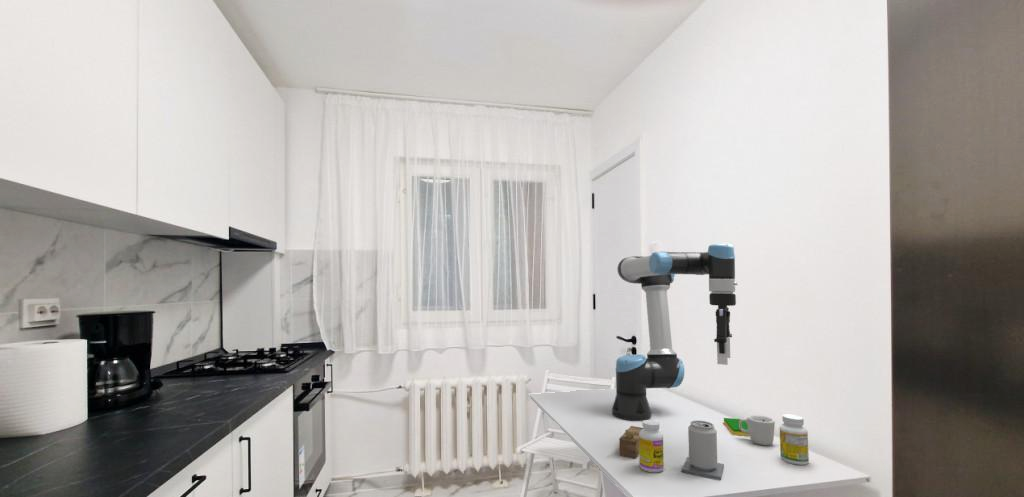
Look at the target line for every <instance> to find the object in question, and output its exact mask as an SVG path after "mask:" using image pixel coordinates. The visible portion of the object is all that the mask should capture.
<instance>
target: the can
mask: <svg viewBox="0 0 1024 497" xmlns="http://www.w3.org/2000/svg"><path fill="white" fill-rule="evenodd" d="M717 433H718V432H717V430H716V428H715V425H714V424H713V423H712V422H710V421H705V420H692V421H690V425H688V457H689V462H690V464H691V465H692V466H693V467H695V468H697V469H700V470H705V471H710V470H714V468H716V467H717V463H718V444H717V443H718V435H717Z"/></svg>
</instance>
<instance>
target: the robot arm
mask: <svg viewBox="0 0 1024 497" xmlns="http://www.w3.org/2000/svg"><path fill="white" fill-rule="evenodd" d="M735 258H736V256H735V249H734V246H733V245H732V244H730V243H715V244H710V245H709V246H708V248H707V251H705V252H702V251H700V252H699V251H698V252H696V251H695V252H694V251H693V252H690V251H689V252H688V251H687V252H685V251H684V252H683V251H682V252H680V251H677V252H676V251H671V252H670V251H654V252H652V253H651V255H646V256H645V255H644V256H638V255H636V256H635V255H634V256H628V257H625V258H623V259H621V260H620V261H619V263H618V265H617V275H618V276H619V277H620V278H621V280H623V281H625V282H627V283H630V284H636V285H637V284H639V285H641V286H640V287H641V290H643V291H644V292H645V301H646V302H645V303H646V311H647V312H646V314H647V322H648V324H647V325H648V336H649V349H650V350H649V351H648V352H647V353H646V355H644V354H627V355H622V356H619V357H617V359H616V360H615V361H616V362H615V364H616V365H615V384H616V385H615V398H614V402H613V404H612V408H611V414H612V417H613V416H614V417H615V418H617V419H621V420H624V421H625V420H626V421H633V422H634V421H635V422H636V421H637V422H643V421H644V420H651V419H652V409H651V407H650V403H649V400H648V397H647V389H671V388H678V387H680V386H681V384H682V383H683V381H684V378H685V365H684V363H683V360H682V359H680V357H678V354H677V352H676V351H675V350H673V342H672V330H671V321H670V313H669V312H670V311H669V301H668V300H669V299H668V290H669V289H670V288H671V284H672V283H674V281H675V277H676V276H675V275H696V276H704V275H708V291H709V292H710V293H709V294H708V295H709V297H708V298H709V305H710V306H717V308H716V310H715V324H716V337H715V338H714V339H713V340H714V343H716V354H717V355H716V357H717V358H716V360H717V363H716V364H717V365H724V366H728V359H731V338H733V334H732V333H731V332H730V322H731V321H730V320H731V318H730V317H731V310H729V307H730V306H731V307H732V306H733V307H734V306H736V304H737V299H736V298H737V297H736V294H735V293H734V292H736V286H738V282H735V280H736V263H735V262H736V259H735ZM728 306H729V307H728Z"/></svg>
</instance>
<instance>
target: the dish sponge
mask: <svg viewBox="0 0 1024 497" xmlns="http://www.w3.org/2000/svg"><path fill="white" fill-rule="evenodd" d="M741 419H742V418H730V417H729V418H728V417H723V424H724V426H725V427H726V428H727V429H728V431H729V432H730V433H731V434H732V436H738V437H739V436H740V437H750V435H749V434H747V433H744V432H742V431H741V430H740V428H739V421H740V420H741ZM742 427H743V429H744V430H747V429H748V425H747V423H746V422H742Z"/></svg>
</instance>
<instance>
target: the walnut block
mask: <svg viewBox="0 0 1024 497" xmlns="http://www.w3.org/2000/svg"><path fill="white" fill-rule="evenodd" d="M642 429H643V427H640V426H634V425H630V426H629V427H628V428H627V429H625V431H624V433H623V434H622V435H621V436H620V437H619V439H618V440H619V441H618V442H619V444H618V445H619V447H618V448H619V456H622V457H627V458H632V459H635V460H636V459H637V458H638V457H639V432H640V431H641V430H642Z"/></svg>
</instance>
